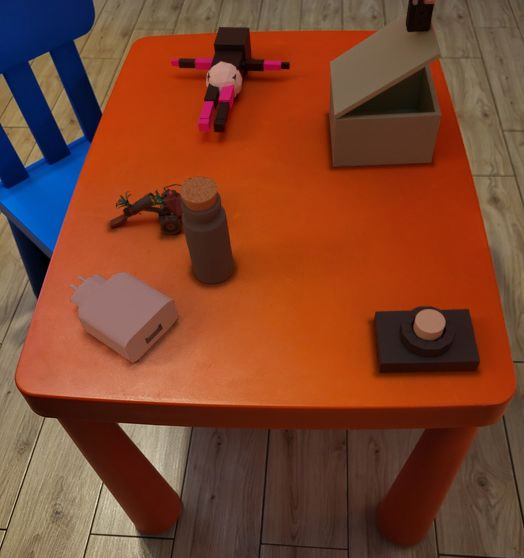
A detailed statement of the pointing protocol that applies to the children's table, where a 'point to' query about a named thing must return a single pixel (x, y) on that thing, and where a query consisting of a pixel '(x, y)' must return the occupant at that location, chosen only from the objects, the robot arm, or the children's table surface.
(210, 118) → the blocky doll
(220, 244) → the bottle
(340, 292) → the children's table surface
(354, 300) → the children's table surface
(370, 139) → the chest
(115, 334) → the charger
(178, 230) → the toy vehicle
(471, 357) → the control block
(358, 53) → the lid
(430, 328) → the button
